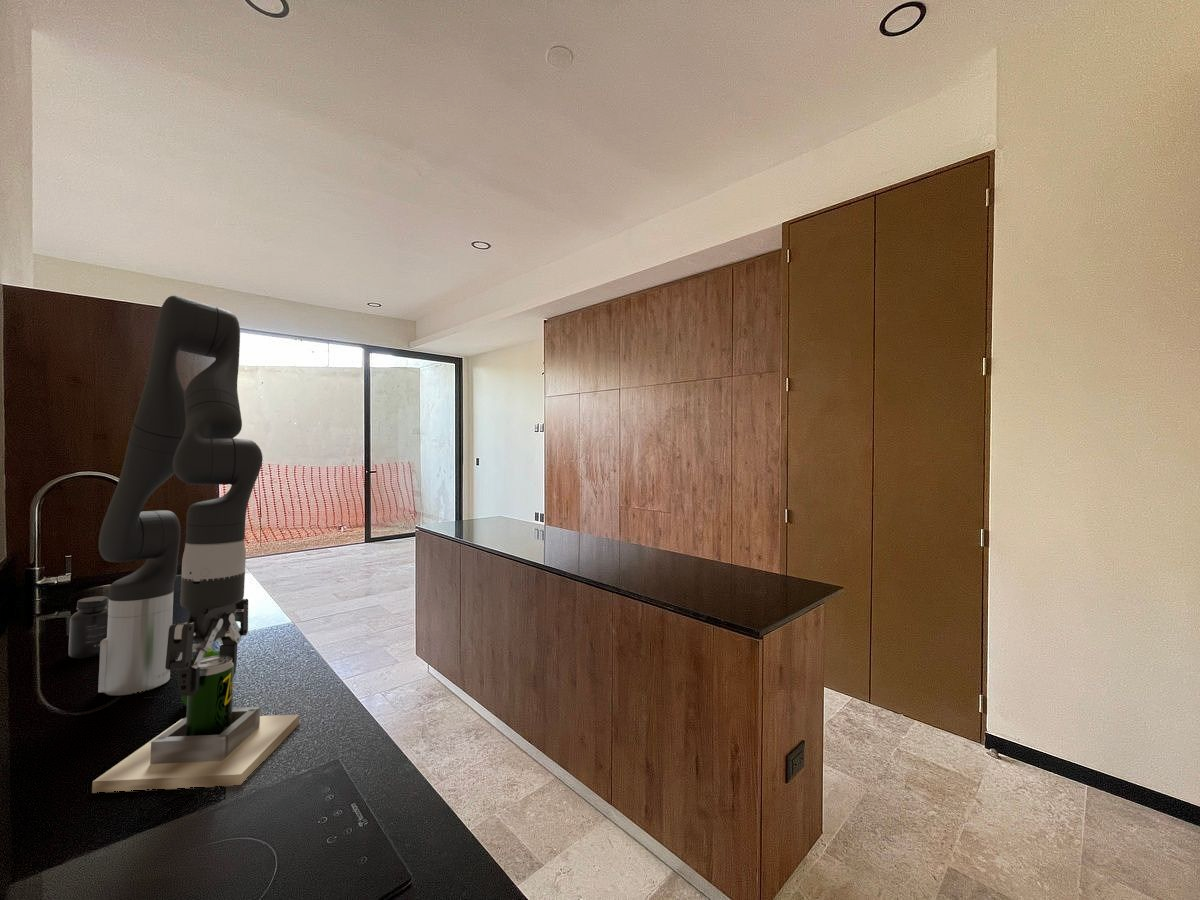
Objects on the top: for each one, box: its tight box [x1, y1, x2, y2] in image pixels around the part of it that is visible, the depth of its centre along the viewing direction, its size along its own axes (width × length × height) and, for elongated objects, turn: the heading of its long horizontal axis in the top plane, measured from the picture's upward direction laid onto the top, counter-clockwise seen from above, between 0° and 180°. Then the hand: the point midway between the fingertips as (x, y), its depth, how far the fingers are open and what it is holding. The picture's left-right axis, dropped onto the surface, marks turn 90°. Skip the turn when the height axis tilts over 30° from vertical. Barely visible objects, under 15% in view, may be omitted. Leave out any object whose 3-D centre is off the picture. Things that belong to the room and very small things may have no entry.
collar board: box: [91, 706, 300, 794], centre depth 74 cm, size 18×16×4 cm
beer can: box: [185, 655, 235, 736], centre depth 74 cm, size 5×5×12 cm
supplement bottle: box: [68, 595, 109, 659], centre depth 111 cm, size 7×7×12 cm
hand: (209, 681), depth 74 cm, fingers open, 8 cm apart
